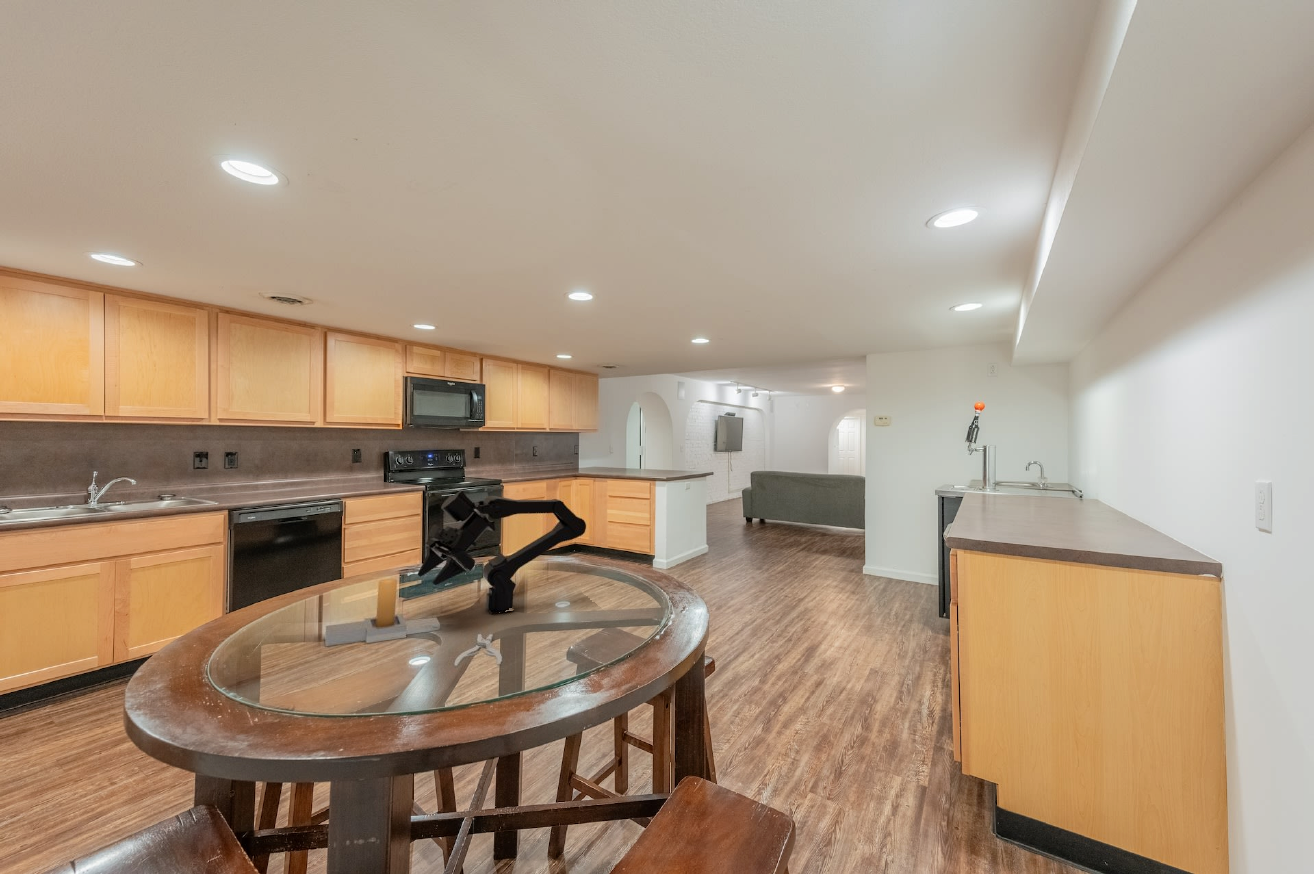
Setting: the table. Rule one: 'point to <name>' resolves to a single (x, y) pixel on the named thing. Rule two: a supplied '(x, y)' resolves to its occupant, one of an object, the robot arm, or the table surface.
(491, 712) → the table surface
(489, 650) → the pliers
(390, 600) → the pin
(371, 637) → the grey peg socket block
